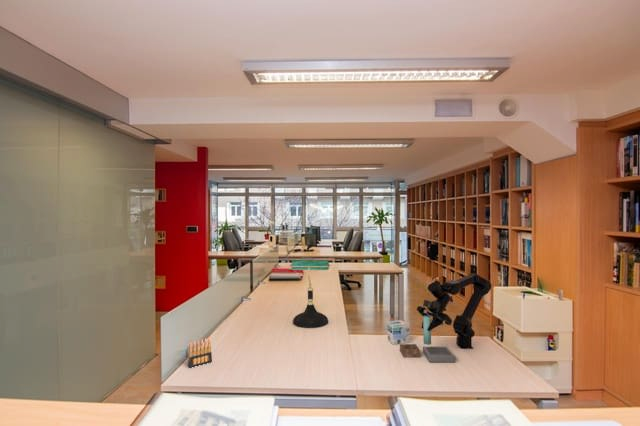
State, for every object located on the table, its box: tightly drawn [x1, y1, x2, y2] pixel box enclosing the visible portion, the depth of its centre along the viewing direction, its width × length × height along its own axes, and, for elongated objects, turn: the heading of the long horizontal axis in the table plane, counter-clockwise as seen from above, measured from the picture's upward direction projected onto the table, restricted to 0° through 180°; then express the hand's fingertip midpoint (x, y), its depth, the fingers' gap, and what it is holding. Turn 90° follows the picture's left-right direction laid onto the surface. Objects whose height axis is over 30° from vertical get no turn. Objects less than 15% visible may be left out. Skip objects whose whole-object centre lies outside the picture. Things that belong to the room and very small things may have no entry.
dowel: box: [422, 316, 432, 346], centre depth 171 cm, size 4×4×13 cm
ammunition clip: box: [187, 337, 213, 369], centre depth 165 cm, size 11×2×12 cm, turn 127°
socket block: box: [399, 343, 421, 358], centre depth 175 cm, size 8×8×4 cm
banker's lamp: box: [289, 259, 331, 329], centre depth 227 cm, size 26×23×40 cm
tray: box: [422, 346, 456, 364], centre depth 170 cm, size 12×12×3 cm
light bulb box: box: [387, 319, 411, 345], centre depth 192 cm, size 11×7×11 cm, turn 105°
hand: (425, 329), depth 171 cm, fingers closed on dowel, 3 cm apart
